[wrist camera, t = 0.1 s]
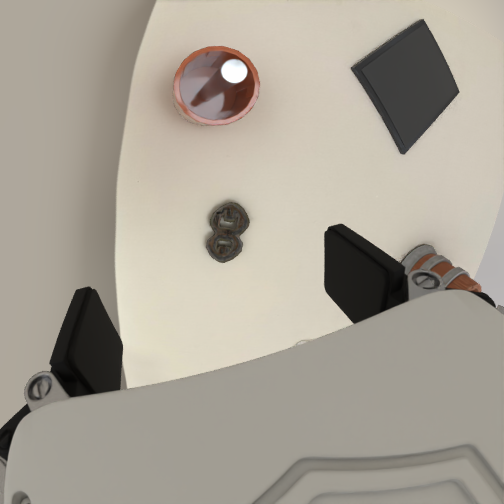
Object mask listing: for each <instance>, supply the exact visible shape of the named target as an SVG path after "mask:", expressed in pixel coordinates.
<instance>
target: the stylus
mask: <svg viewBox="0 0 504 504" xmlns="http://www.w3.org/2000/svg"><path fill="white" fill-rule="evenodd" d="M247 73H248V70H247V67H246V65H245V64H244V63H243V62H242V61H240V60H238V59H230V60H228V61H226V62H225V63H224V64H223V65H222V66H221V67H220V68H219V69H218V70H217V71H216V72H215V73H214V74H213V75H212V77H211V78H210V79H209V80H208V81H207V82H206V83H205V85H204V86H203V87H202V88H201V90H200V96H201V97H202V98H203V99H204V100H211V99H213V98H215V97H216V96H218V95H220V94H221V93H223V92H224V91H226V90H228V89H230V88H231V87H233V86H235V85H236V84H238V83H240V82H242V81H243V80H244V79H245V78H246V76H247Z"/></svg>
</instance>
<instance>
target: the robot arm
mask: <svg viewBox="0 0 504 504" xmlns="http://www.w3.org/2000/svg"><path fill="white" fill-rule="evenodd" d="M324 247H325V272H324V287H325V290H326V293H327V294H328V295H329V296H330V297H331V298H332V300H333V301H334V302H335V303H336V304H337V305H338V306H339V307H340V309H341V310H342V311H343V312H344V313H345V314H346V315H347V316H348V318H349V319H350V320H351V321H352V322H353V323H354V324H353V325H351V326H348V327H346V328H343V329H341V330H338V331H335V332H333V333H330V334H327V335H325V336H322V337H319V338H317V339H314V340H311V341H308V342H306V343H303V344H300V345H297V346H294V347H291V348H288V349H285V350H282V351H279V352H276V353H273V354H270V355H267V356H263V357H260V358H257V359H254V360H250V361H247V362H243V363H240V364H236V365H233V366H229V367H225V368H222V369H218V370H214V371H210V372H206V373H202V374H198V375H193V376H189V377H185V378H180V379H176V380H171V381H166V382H162V383H157V384H152V385H146V386H141V387H135V388H130V389H124V390H120V384H121V368H122V355H123V344H122V341H121V339H120V337H119V335H118V333H117V331H116V329H115V328H114V326H113V324H112V322H111V320H110V318H109V316H108V314H107V312H106V310H105V308H104V306H103V304H102V302H101V299H100V297H99V295H98V293H97V291H96V290H95V289H92V288H91V287H85V288H81V289H77V290H76V291H75V294H74V296H73V299H72V301H71V304H70V306H69V308H68V311H67V314H66V316H65V319H64V321H63V324H62V327H61V330H60V333H59V335H58V338H57V341H56V344H55V347H54V350H53V353H52V356H51V360H50V365H51V366H52V367H51V371H50V372H49V371H42V372H39V373H37V374H35V375H34V376H32V378H30V379H29V381H28V382H27V384H26V387H25V389H24V396H25V399H26V401H27V404H26V405H25V406H24V407H23V408H22V409H21V410H20V411H19V412H17V413H16V414H15V415H14V416H13V417H12V418H11V419H10V420H9V421H8V422H7V423H6V424H5V425H4V426H3V427H2V428H1V429H0V504H504V307H503V306H500V305H498V307H497V308H496V306H495V303H494V301H493V300H492V299H491V298H490V297H489V296H488V295H487V294H485V293H483V292H474V291H467V290H460V289H453V288H447V287H445V285H444V281H443V279H442V278H441V277H440V276H439V275H438V274H437V273H435V272H433V271H430V270H425V269H418V270H414V271H412V272H410V273H409V275H408V276H407V275H406V274H405V268H406V267H405V266H403V265H402V264H401V263H399V262H398V261H396V260H395V259H394V258H392V257H391V256H389V255H388V254H387V253H385V252H384V251H382V250H381V249H379V248H378V247H376V246H375V245H373V244H372V243H371V242H369V241H368V240H366V239H365V238H363V237H362V236H360V235H359V234H357V233H356V232H354V231H353V230H351V229H350V228H348V227H346V226H345V225H343V224H338V225H334V226H329V227H328V229H327V231H325V233H324Z"/></svg>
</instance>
